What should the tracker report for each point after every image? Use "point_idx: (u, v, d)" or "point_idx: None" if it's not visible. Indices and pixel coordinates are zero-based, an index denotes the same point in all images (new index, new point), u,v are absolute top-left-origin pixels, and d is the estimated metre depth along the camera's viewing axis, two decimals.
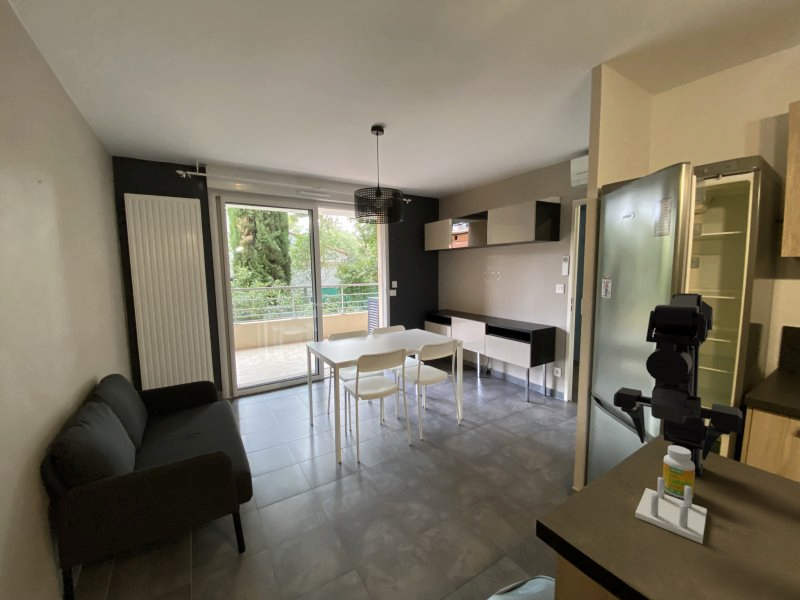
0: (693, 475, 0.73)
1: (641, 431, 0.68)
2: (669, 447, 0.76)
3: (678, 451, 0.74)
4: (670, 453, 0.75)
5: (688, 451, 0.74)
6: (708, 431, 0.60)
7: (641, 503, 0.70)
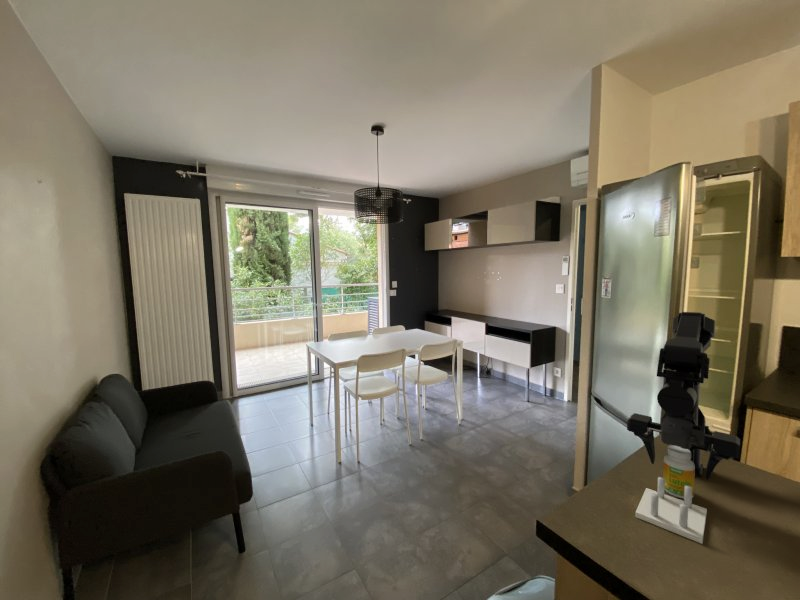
0: (693, 475, 0.73)
1: (651, 453, 0.78)
2: (669, 447, 0.76)
3: (678, 451, 0.74)
4: (670, 453, 0.75)
5: (688, 451, 0.74)
6: (710, 456, 0.69)
7: (641, 503, 0.70)
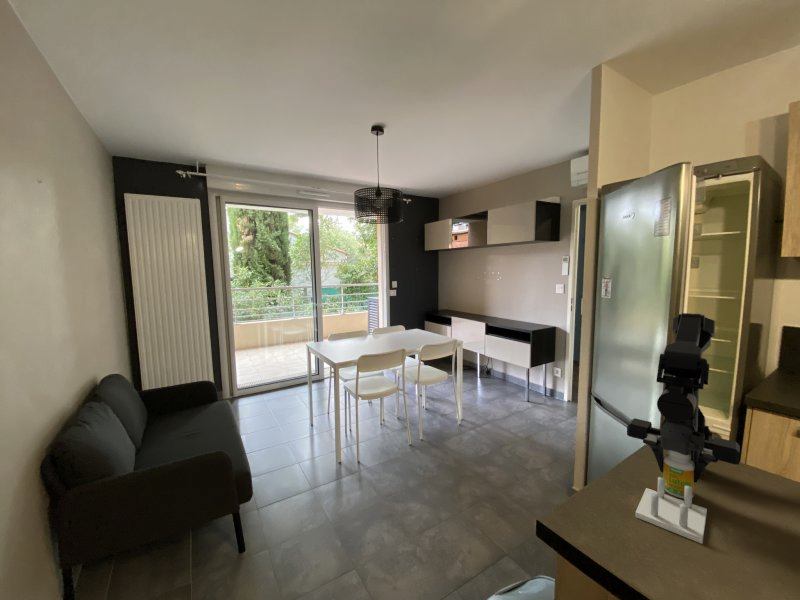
0: (693, 475, 0.73)
1: (661, 461, 0.76)
2: None
3: None
4: (670, 453, 0.75)
5: None
6: (699, 458, 0.71)
7: (641, 503, 0.70)
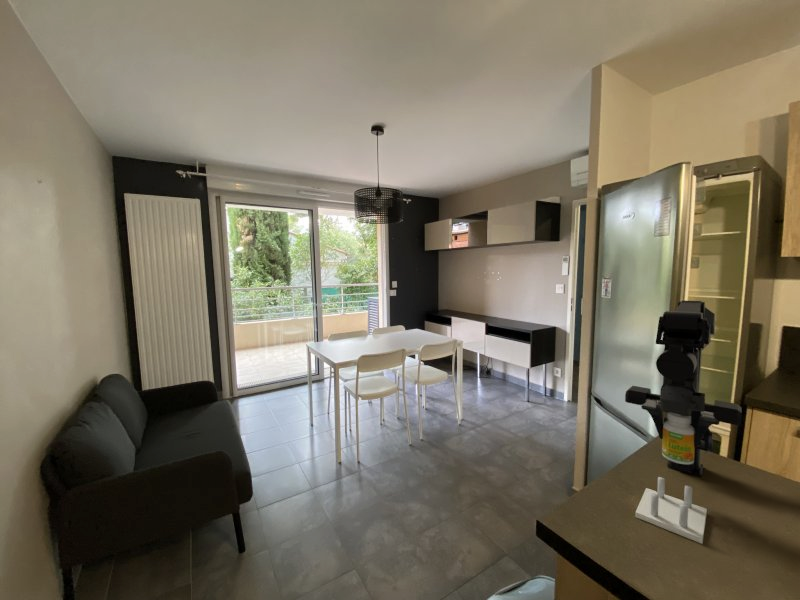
0: (693, 440, 0.70)
1: (660, 427, 0.74)
2: None
3: (678, 415, 0.72)
4: (670, 418, 0.72)
5: (688, 416, 0.72)
6: (699, 422, 0.68)
7: (641, 503, 0.70)
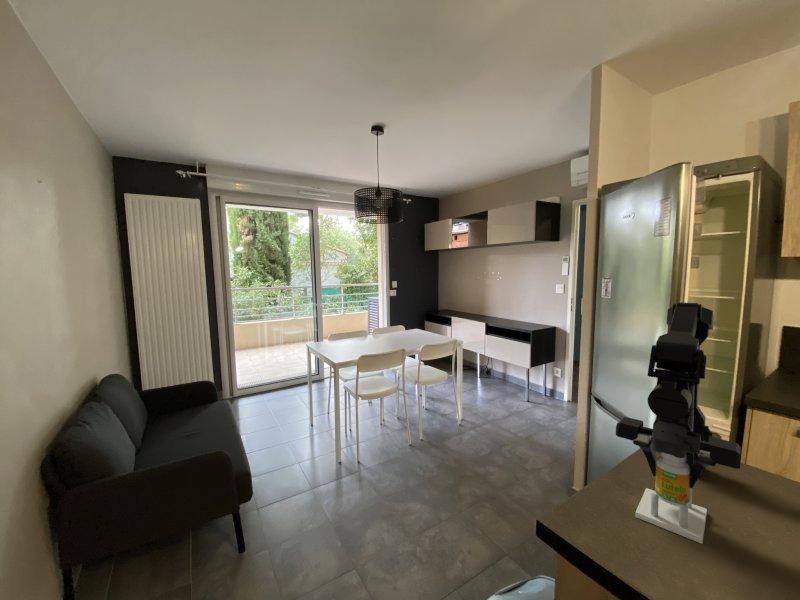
0: (688, 480, 0.65)
1: (653, 464, 0.69)
2: None
3: None
4: (663, 455, 0.67)
5: None
6: (695, 462, 0.63)
7: (641, 503, 0.70)
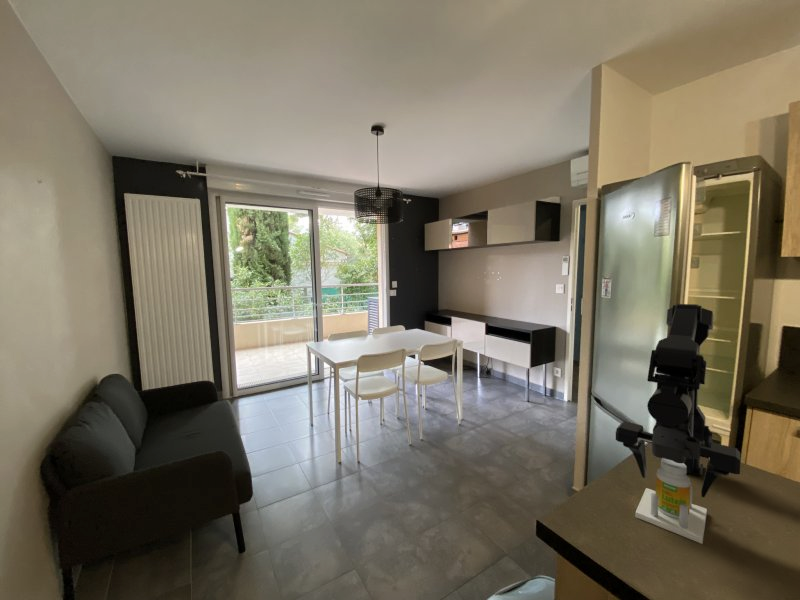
0: (689, 492, 0.65)
1: (642, 466, 0.70)
2: (662, 460, 0.68)
3: (673, 465, 0.67)
4: (663, 467, 0.67)
5: (683, 465, 0.66)
6: (707, 470, 0.62)
7: (641, 503, 0.70)
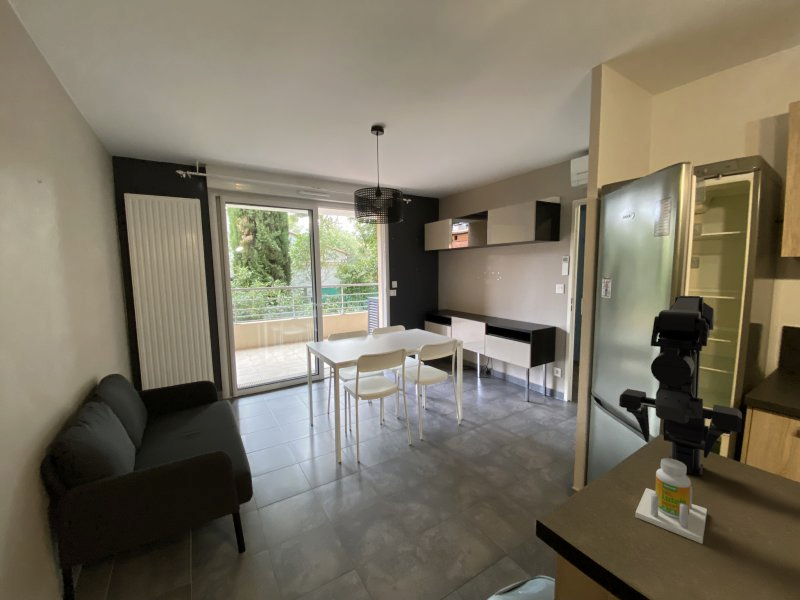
0: (689, 492, 0.65)
1: (646, 430, 0.72)
2: (662, 460, 0.68)
3: (673, 465, 0.67)
4: (663, 467, 0.67)
5: (683, 465, 0.66)
6: (709, 431, 0.63)
7: (641, 503, 0.70)
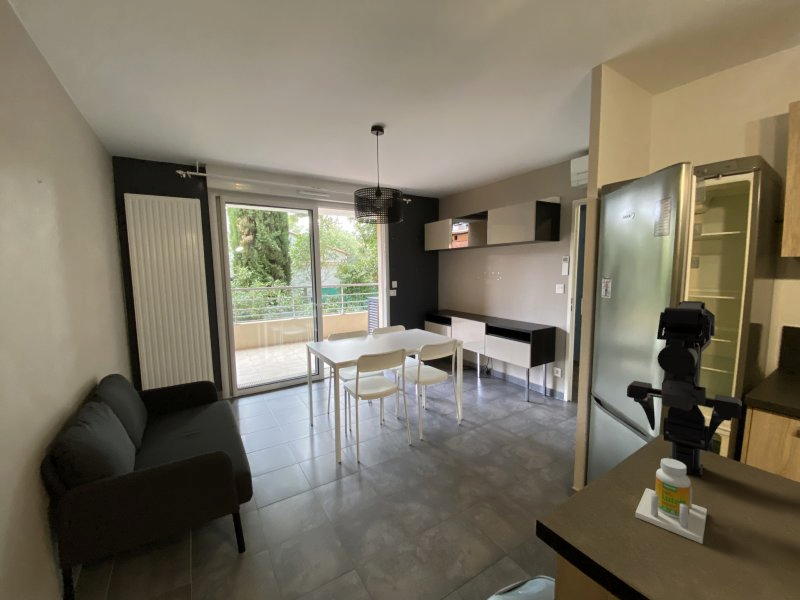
0: (688, 492, 0.65)
1: (651, 419, 0.76)
2: (662, 460, 0.68)
3: (672, 465, 0.67)
4: (663, 467, 0.67)
5: (683, 465, 0.66)
6: (712, 418, 0.68)
7: (641, 503, 0.70)
